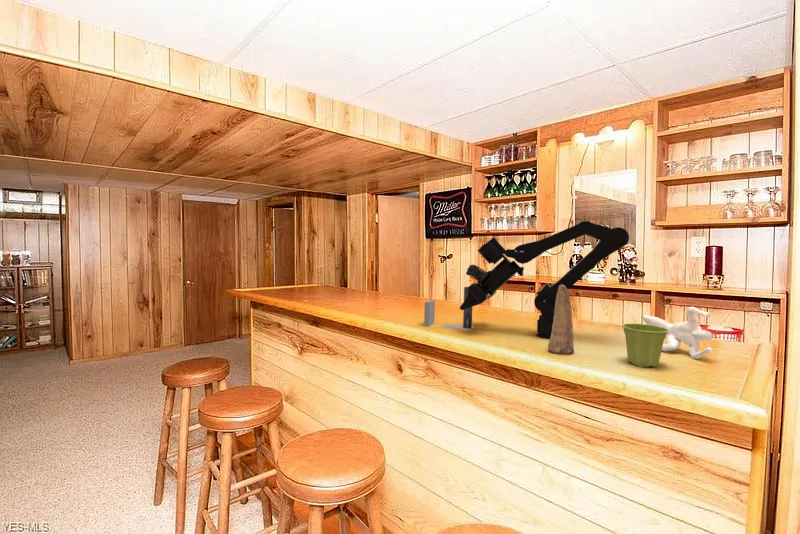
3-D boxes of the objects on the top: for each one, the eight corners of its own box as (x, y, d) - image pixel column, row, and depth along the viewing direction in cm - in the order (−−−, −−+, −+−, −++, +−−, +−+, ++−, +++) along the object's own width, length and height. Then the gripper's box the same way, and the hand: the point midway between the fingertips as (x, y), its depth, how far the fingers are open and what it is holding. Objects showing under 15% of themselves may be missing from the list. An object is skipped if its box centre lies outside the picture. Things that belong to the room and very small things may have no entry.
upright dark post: (473, 327, 130) (474, 286, 130) (470, 330, 126) (471, 288, 125) (445, 324, 134) (446, 285, 133) (441, 327, 129) (442, 286, 129)
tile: (434, 323, 136) (434, 300, 136) (428, 326, 131) (429, 302, 130) (429, 322, 137) (430, 299, 136) (423, 326, 131) (424, 302, 131)
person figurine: (627, 307, 109) (709, 304, 95) (644, 313, 117) (721, 310, 103) (630, 356, 106) (715, 359, 92) (647, 358, 114) (726, 361, 101)
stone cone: (543, 353, 103) (565, 359, 98) (541, 286, 100) (564, 289, 95) (557, 346, 107) (579, 352, 102) (556, 281, 104) (578, 284, 99)
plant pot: (624, 355, 100) (625, 321, 99) (669, 363, 94) (671, 327, 93) (616, 363, 92) (618, 327, 92) (664, 372, 86) (666, 333, 86)
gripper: (487, 255, 134) (454, 285, 139) (476, 257, 117) (439, 291, 122) (510, 280, 132) (476, 309, 137) (502, 285, 115) (463, 319, 119)
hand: (464, 307), depth 129 cm, fingers open, 9 cm apart
